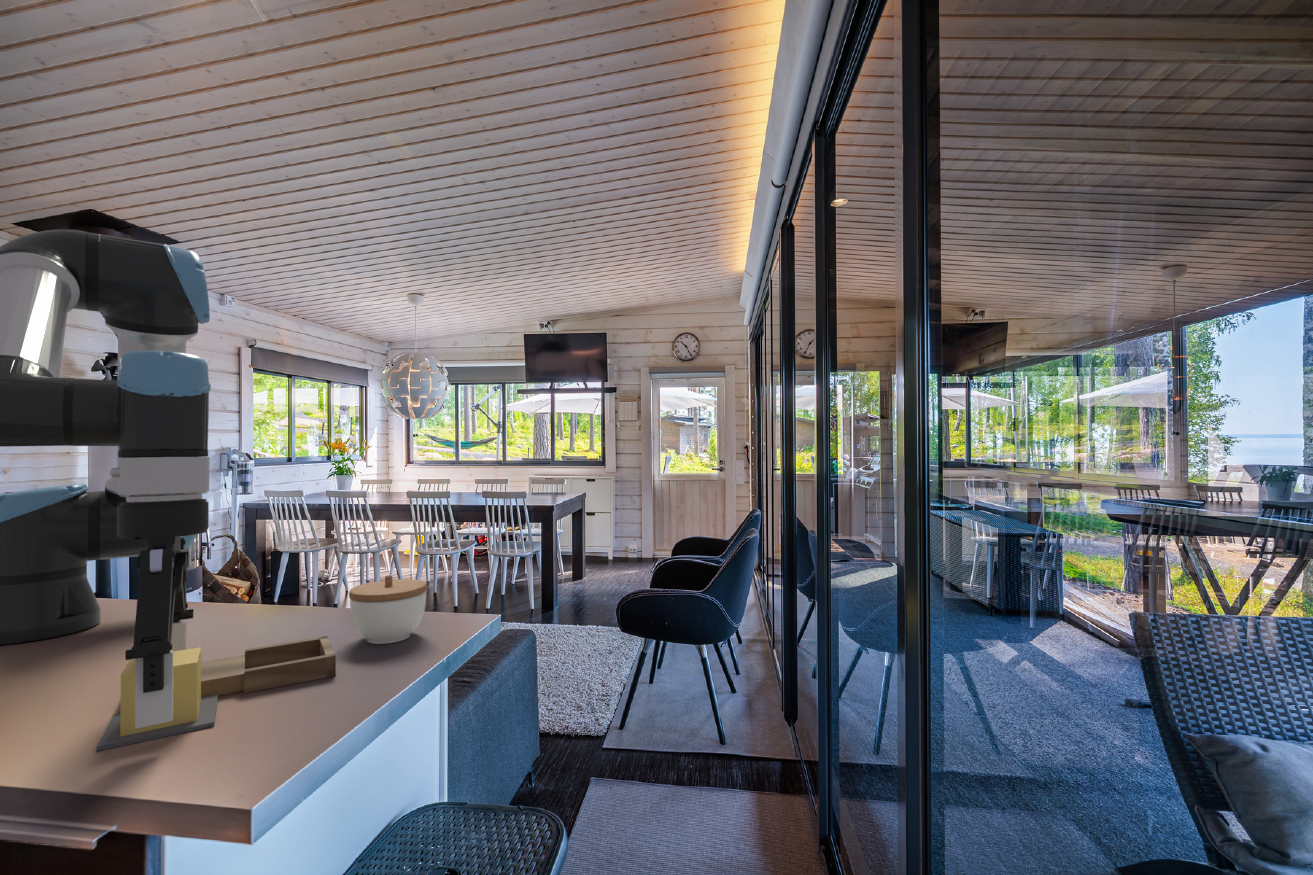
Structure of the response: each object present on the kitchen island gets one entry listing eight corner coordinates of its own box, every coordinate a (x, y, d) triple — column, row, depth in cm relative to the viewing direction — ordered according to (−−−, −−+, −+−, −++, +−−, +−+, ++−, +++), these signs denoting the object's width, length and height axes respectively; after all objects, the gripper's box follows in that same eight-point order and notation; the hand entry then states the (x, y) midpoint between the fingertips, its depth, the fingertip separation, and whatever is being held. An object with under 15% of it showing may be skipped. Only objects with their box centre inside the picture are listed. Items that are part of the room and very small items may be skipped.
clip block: (130, 714, 64) (130, 657, 64) (201, 701, 68) (201, 647, 68) (120, 736, 59) (120, 674, 59) (197, 720, 63) (197, 662, 63)
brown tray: (134, 687, 73) (134, 666, 73) (327, 653, 84) (327, 635, 84) (119, 717, 64) (119, 693, 64) (335, 675, 76) (335, 655, 76)
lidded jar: (441, 631, 94) (441, 571, 94) (385, 653, 84) (385, 585, 85) (391, 624, 98) (391, 566, 99) (332, 644, 89) (332, 580, 89)
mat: (114, 717, 65) (114, 713, 65) (218, 697, 70) (218, 693, 70) (96, 751, 57) (96, 746, 57) (214, 725, 62) (214, 721, 62)
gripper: (136, 496, 72) (135, 674, 71) (90, 506, 51) (87, 758, 50) (214, 493, 76) (213, 661, 76) (200, 501, 55) (199, 733, 55)
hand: (163, 702), depth 63 cm, fingers open, 13 cm apart
